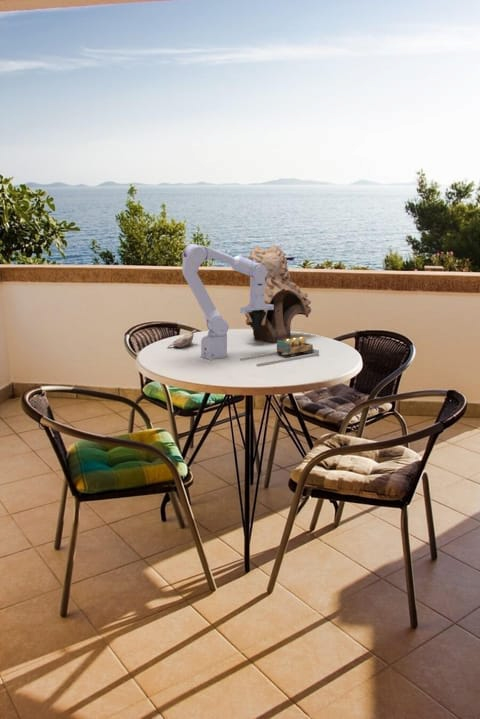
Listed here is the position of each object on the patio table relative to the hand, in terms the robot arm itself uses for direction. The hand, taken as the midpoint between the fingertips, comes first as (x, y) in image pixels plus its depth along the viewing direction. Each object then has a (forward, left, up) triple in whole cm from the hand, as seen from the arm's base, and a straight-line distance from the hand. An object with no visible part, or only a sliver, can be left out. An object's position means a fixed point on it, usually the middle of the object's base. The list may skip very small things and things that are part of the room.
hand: (257, 329), depth 256 cm
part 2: (+10, -11, -6) cm, 16 cm away
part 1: (+7, -11, -6) cm, 14 cm away
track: (+2, -11, -10) cm, 15 cm away
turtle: (-16, +29, -10) cm, 35 cm away
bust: (+23, +19, -10) cm, 31 cm away
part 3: (+13, -11, -6) cm, 19 cm away
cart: (+10, -11, -9) cm, 17 cm away
